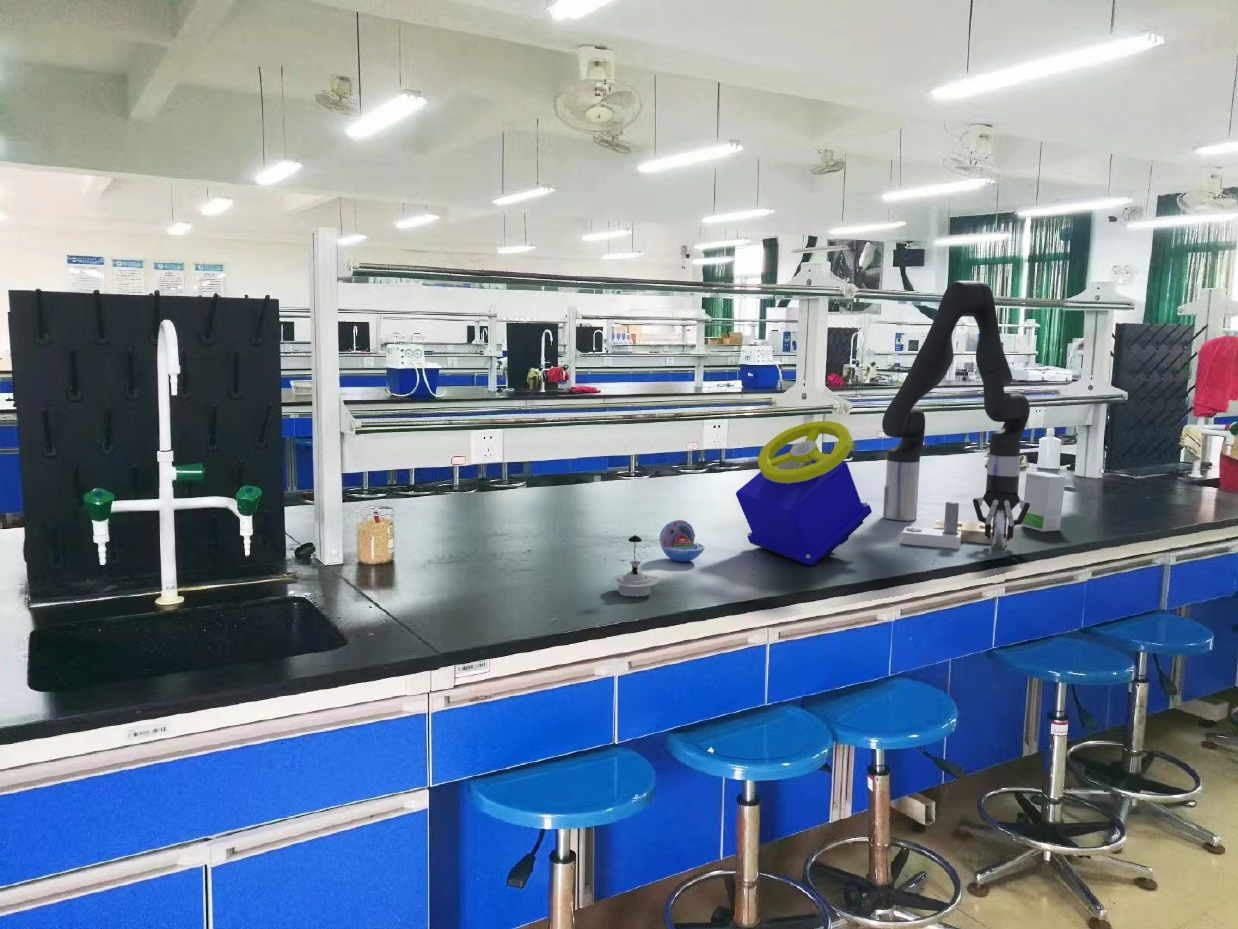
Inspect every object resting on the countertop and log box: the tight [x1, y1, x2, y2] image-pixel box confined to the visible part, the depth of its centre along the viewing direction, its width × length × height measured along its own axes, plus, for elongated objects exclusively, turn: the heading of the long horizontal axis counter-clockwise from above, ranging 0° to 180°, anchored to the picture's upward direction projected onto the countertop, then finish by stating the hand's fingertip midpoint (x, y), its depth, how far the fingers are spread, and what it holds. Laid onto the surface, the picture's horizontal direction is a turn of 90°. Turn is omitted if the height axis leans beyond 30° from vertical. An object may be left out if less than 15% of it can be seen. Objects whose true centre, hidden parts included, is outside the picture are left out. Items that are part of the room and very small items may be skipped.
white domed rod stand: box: [610, 534, 660, 595], centre depth 186 cm, size 12×10×10 cm
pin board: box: [933, 519, 1008, 546], centre depth 242 cm, size 18×12×3 cm, turn 67°
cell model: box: [658, 519, 705, 563], centre depth 213 cm, size 10×12×10 cm
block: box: [901, 501, 962, 550], centre depth 234 cm, size 14×8×11 cm, turn 67°
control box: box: [735, 420, 873, 568], centre depth 217 cm, size 26×27×30 cm
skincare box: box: [1020, 471, 1066, 533], centre depth 253 cm, size 8×7×16 cm
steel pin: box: [991, 510, 1008, 550], centre depth 230 cm, size 3×3×10 cm
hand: (998, 538), depth 230 cm, fingers open, 4 cm apart
